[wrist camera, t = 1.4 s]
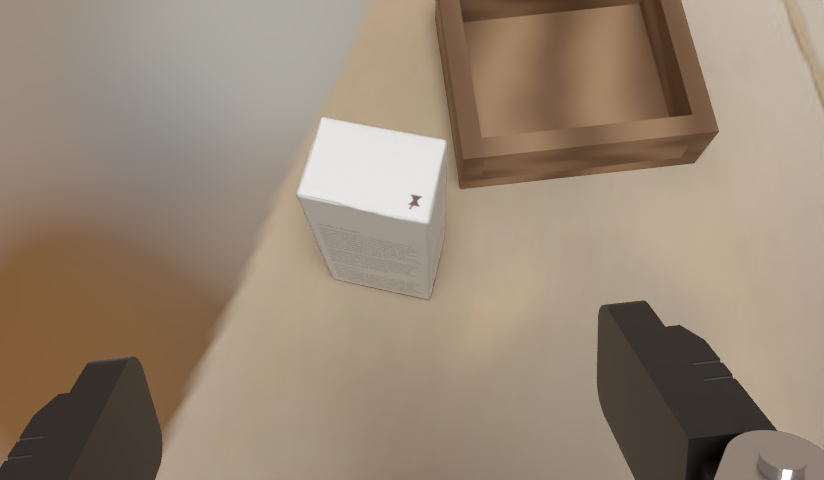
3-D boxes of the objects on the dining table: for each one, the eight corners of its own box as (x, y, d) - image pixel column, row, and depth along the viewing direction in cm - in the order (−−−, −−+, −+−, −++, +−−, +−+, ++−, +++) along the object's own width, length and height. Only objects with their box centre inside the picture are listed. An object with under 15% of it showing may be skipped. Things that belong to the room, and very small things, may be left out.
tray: (649, -4, 49) (667, -46, 45) (694, 162, 44) (718, 131, 41) (435, 19, 48) (435, -22, 45) (460, 188, 44) (463, 159, 40)
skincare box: (446, 234, 43) (452, 138, 32) (430, 302, 42) (431, 227, 30) (347, 213, 44) (319, 112, 32) (328, 279, 42) (292, 197, 31)
